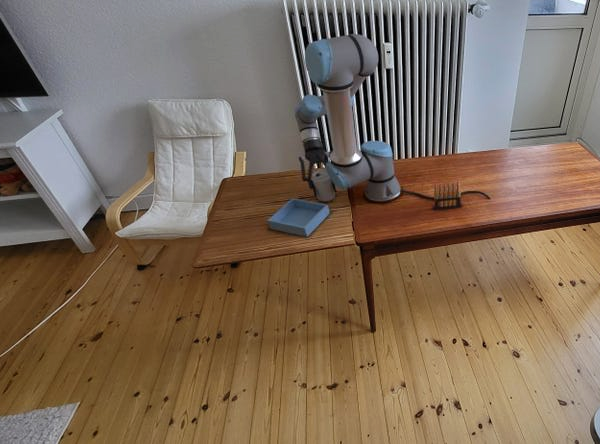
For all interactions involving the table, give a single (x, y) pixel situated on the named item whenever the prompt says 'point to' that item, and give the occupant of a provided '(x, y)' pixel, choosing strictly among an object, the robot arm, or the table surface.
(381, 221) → the table surface
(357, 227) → the table surface
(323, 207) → the tray
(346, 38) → the robot arm
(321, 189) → the can
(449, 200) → the ammunition clip
